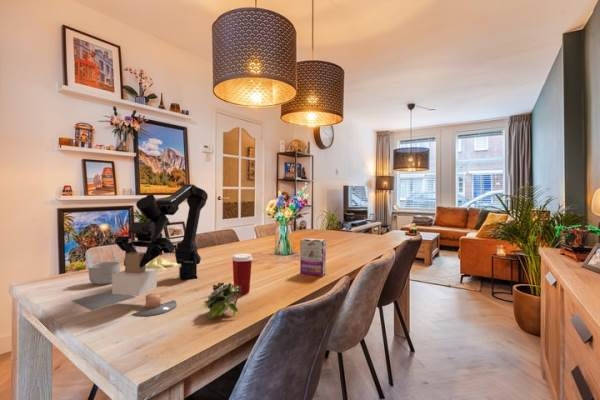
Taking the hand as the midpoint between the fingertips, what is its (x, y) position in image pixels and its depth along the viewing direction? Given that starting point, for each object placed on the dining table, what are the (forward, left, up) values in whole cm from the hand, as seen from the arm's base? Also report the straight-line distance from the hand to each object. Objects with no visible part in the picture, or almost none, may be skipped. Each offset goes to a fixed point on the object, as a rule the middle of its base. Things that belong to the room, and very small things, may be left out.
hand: (132, 266), depth 96 cm
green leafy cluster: (-25, +17, -14) cm, 33 cm away
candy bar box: (-74, -9, -14) cm, 76 cm away
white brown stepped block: (-1, -1, -8) cm, 8 cm away
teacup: (+8, -35, -14) cm, 38 cm away
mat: (+8, -12, -13) cm, 20 cm away
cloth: (-12, -54, -14) cm, 57 cm away
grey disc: (-6, +2, -13) cm, 15 cm away
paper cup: (-36, +1, -14) cm, 38 cm away
